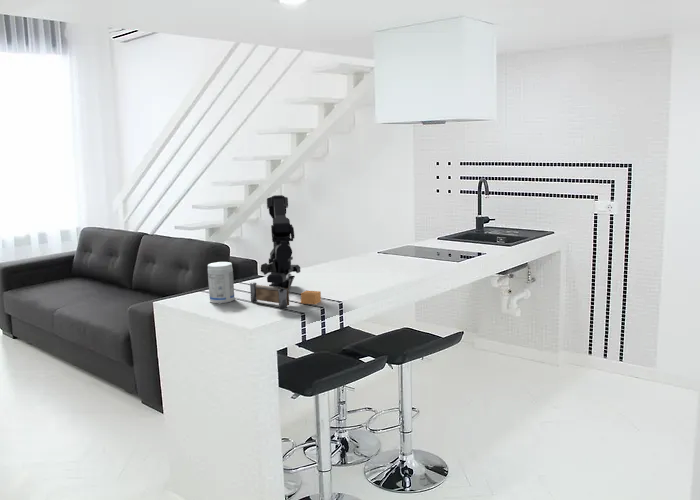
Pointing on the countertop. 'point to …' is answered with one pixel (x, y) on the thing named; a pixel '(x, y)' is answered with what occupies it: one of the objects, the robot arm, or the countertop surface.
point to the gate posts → (281, 293)
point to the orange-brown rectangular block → (311, 297)
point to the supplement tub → (221, 282)
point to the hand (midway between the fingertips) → (285, 295)
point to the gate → (269, 293)
